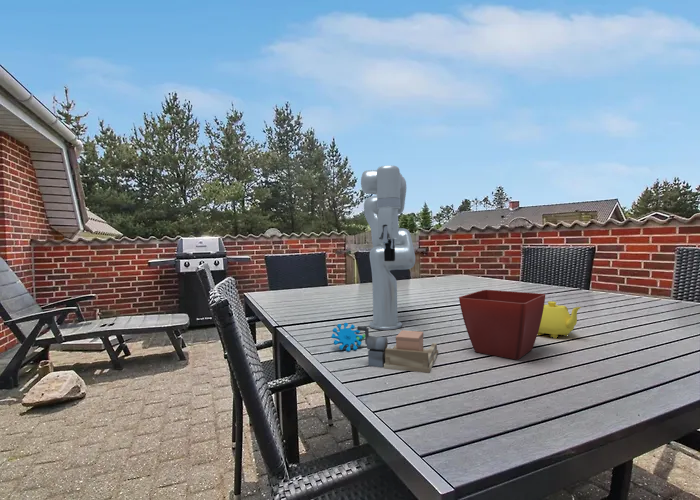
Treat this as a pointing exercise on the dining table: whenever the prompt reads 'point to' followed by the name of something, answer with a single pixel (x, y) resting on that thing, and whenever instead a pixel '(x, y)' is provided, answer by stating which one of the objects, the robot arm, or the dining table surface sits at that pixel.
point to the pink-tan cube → (410, 340)
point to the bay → (397, 355)
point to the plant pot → (502, 321)
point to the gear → (347, 337)
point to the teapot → (557, 320)
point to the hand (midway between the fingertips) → (389, 260)
